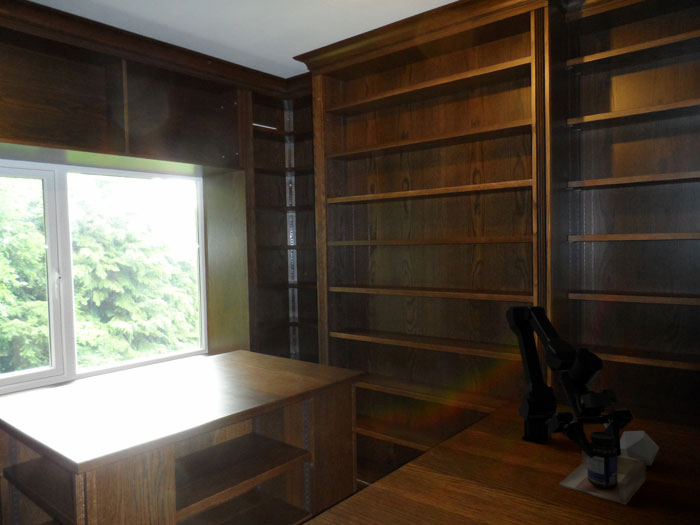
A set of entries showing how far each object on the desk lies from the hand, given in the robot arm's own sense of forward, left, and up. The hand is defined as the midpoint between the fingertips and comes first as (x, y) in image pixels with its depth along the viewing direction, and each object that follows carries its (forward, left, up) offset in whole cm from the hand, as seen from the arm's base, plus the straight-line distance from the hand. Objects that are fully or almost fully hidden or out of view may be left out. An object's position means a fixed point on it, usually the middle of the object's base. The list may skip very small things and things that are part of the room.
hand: (605, 456), depth 115 cm
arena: (-2, +4, -8) cm, 9 cm away
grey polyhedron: (+1, +21, -8) cm, 22 cm away
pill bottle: (-1, +1, -7) cm, 7 cm away
